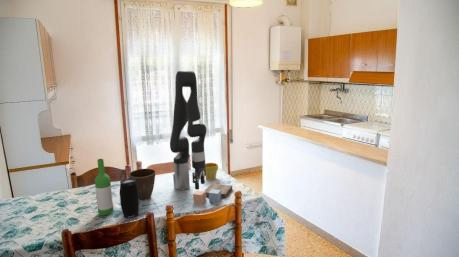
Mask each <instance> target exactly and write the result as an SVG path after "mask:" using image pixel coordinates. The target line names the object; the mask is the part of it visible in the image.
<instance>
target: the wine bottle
mask: <svg viewBox="0 0 459 257" xmlns="http://www.w3.org/2000/svg"><path fill="white" fill-rule="evenodd" d="M104 162H105V161H104V158H98V159H97V170H98V175H96V177H95V178H94V186H95V187H94V189H95V197H96V205H97V207H96V208H97V212H98V214H99V215H101V216H107V215H111V214H112V213H113V212H114V201H113V194H112V193H113V191H112V182H111V178H110V176H109V175H108V174H107V173H106V172H105V163H104Z"/></svg>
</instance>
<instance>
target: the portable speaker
mask: <svg viewBox="0 0 459 257" xmlns="http://www.w3.org/2000/svg"><path fill="white" fill-rule="evenodd" d="M119 181H120V182H119V183H120V184H119V200H120V207H121V208H120V209H121V211H122V215H123V217H124V218H125V219H129V218H131V217H135V218H136V217H138V216H139V211H140V200H139V195H138V187H137V183H136V179H135V178H130V177H129V178H124V179H121V180H119Z"/></svg>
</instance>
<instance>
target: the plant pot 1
mask: <svg viewBox="0 0 459 257" xmlns="http://www.w3.org/2000/svg"><path fill="white" fill-rule="evenodd" d="M128 177H129V178H135V179H136V183H137V187H138V195H139V202H140V201H142V202H144V201H148V200H150V199H151V198H152V195H153V191H154V187H155V182H156V181H155V180H156V170H155V169H152V168H139V169H135V170H133V171H131V172H129V174H128Z"/></svg>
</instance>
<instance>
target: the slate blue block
mask: <svg viewBox="0 0 459 257" xmlns="http://www.w3.org/2000/svg"><path fill="white" fill-rule="evenodd" d="M221 200H222V198H221V190H215V189H212V190H211V191H210V192H209V196H208V202H211V203H219V202H220V201H221Z"/></svg>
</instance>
